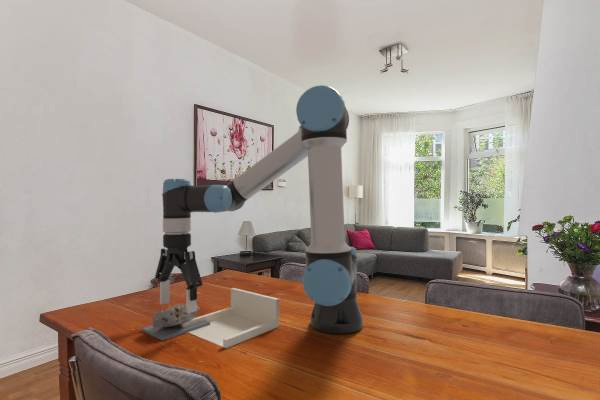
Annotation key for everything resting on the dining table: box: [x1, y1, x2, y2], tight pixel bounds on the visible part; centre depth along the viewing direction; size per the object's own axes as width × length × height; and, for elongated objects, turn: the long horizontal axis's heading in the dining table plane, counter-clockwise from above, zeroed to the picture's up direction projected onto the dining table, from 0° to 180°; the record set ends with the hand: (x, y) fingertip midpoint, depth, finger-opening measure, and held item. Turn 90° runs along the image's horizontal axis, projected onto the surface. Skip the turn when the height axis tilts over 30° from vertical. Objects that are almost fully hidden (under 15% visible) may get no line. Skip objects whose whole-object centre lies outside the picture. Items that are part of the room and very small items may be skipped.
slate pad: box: [141, 315, 210, 341], centre depth 99 cm, size 11×15×1 cm
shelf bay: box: [181, 287, 280, 349], centre depth 99 cm, size 20×19×8 cm
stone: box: [151, 303, 200, 328], centre depth 100 cm, size 13×6×10 cm
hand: (177, 307), depth 99 cm, fingers open, 13 cm apart
